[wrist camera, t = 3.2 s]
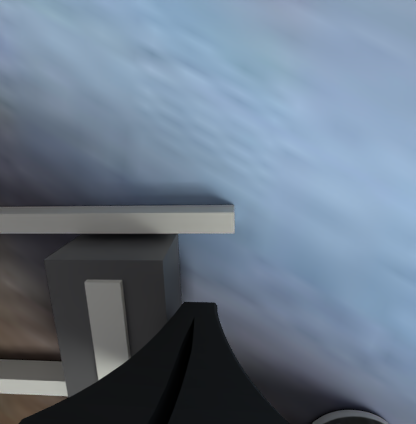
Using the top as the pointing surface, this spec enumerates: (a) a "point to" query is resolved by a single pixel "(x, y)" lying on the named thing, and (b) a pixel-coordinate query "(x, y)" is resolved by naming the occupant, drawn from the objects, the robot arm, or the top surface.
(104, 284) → the block
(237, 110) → the top surface
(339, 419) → the supplement bottle
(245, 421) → the robot arm
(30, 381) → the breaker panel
